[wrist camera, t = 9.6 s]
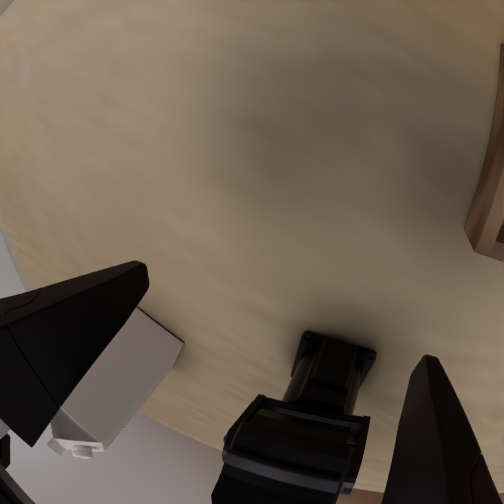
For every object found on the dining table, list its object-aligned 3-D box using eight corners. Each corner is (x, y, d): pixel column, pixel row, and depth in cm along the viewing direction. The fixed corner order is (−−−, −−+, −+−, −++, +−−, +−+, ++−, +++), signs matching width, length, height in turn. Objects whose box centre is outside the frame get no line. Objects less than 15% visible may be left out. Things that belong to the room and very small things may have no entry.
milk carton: (130, 334, 37) (36, 432, 22) (135, 304, 33) (20, 417, 18) (173, 367, 37) (84, 476, 22) (185, 342, 32) (77, 472, 17)
